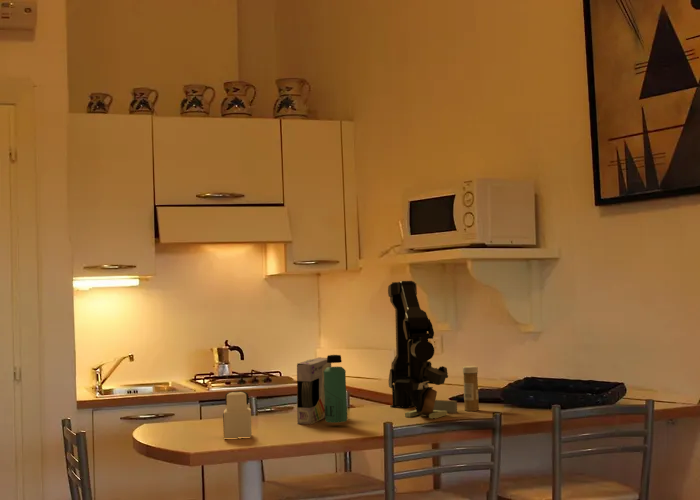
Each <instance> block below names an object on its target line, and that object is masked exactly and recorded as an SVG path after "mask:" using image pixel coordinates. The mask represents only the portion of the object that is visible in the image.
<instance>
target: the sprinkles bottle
mask: <svg viewBox="0 0 700 500" xmlns="http://www.w3.org/2000/svg"><path fill="white" fill-rule="evenodd" d="M478 369H479V368H478V366H477V365H465V366H463V367H462V374H463V400H464V411H467V412H477V411H479V410H480V407H479V404H480V403H479V383H478V374H479V370H478Z"/></svg>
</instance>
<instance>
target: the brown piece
mask: <svg viewBox="0 0 700 500" xmlns="http://www.w3.org/2000/svg"><path fill="white" fill-rule="evenodd" d="M437 394H438V391H436V389H433V388H432V389H431V390H430V391H429V392H428V393H427V394H426V397H425V401H424V404H423V408H422V411H421V412H417V411H416V412H417V413H419V414H420V415H422V416H427V417H429V414H431V413H433V409H434V404H435V400H437V399H436V398H437Z"/></svg>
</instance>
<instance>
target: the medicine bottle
mask: <svg viewBox="0 0 700 500" xmlns="http://www.w3.org/2000/svg"><path fill="white" fill-rule="evenodd" d="M224 397H225V399H224V400H225V409H224V410H223V414H222V417H223V439H224V438H238V437H251V438H252V433H253V432H252V408H250V407H249V393H248V392H246V391H243V390H242V391H241V390H239V391H229V392H227V393H226V394H225V395H224Z"/></svg>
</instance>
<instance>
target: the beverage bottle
mask: <svg viewBox="0 0 700 500" xmlns="http://www.w3.org/2000/svg"><path fill="white" fill-rule="evenodd" d="M326 358H327V363H331V364H337V363H338V364H339V363H340V364H341V363H342V362H343V360H342V356H341V354H330V355H329V354H328V355H327V356H326ZM346 371H347V370H346V369H345V368H344V367H342V366H331V367H327V368H326V369H325V370H324V394H325V405H324V407H325V418H324V420H325V422H327V423H333V424H334V423H336V424H337V423H345V422H347V421H348V418H349V417H348V415H349V414H348V413H349V412H348V404H347V403H348V402H347V401H348V398H347V382H346V381H347V379H346V377H347V376H346Z"/></svg>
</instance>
